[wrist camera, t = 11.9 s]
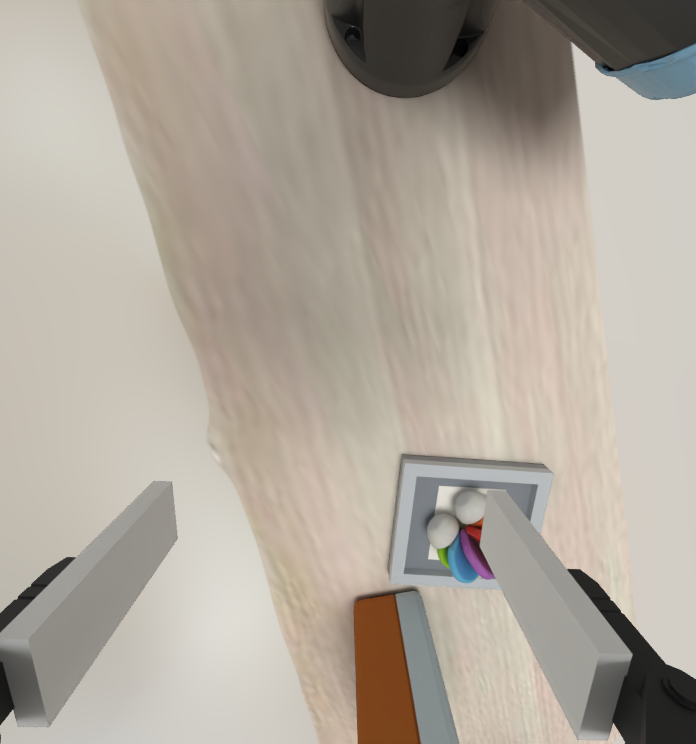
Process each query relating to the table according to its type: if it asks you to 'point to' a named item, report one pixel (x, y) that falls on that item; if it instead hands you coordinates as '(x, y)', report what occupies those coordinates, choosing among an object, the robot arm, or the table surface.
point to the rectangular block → (399, 674)
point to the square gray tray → (453, 509)
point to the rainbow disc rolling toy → (462, 538)
